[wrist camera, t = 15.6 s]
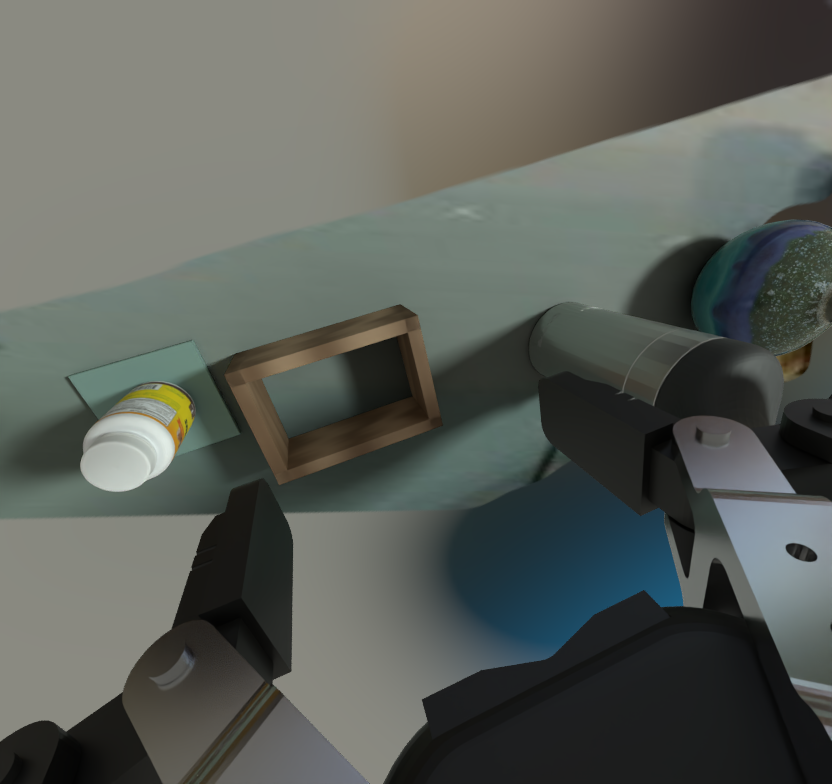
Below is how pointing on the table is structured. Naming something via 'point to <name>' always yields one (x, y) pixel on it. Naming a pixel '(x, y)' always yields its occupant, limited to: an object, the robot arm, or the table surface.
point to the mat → (169, 366)
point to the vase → (768, 286)
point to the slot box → (346, 435)
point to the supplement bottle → (137, 436)
